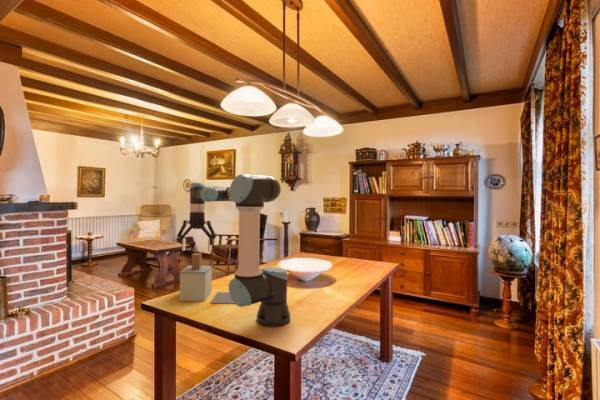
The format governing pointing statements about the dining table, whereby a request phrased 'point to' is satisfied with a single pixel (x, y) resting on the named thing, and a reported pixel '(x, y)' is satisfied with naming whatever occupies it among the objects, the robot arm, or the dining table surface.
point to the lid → (196, 266)
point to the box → (195, 286)
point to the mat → (222, 298)
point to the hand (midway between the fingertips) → (196, 250)
